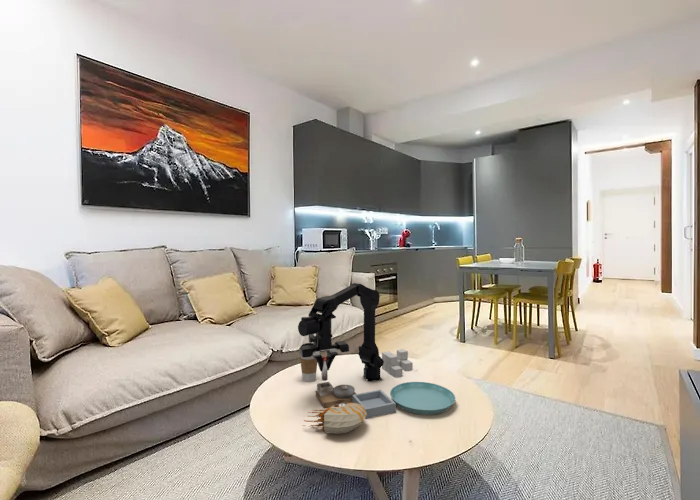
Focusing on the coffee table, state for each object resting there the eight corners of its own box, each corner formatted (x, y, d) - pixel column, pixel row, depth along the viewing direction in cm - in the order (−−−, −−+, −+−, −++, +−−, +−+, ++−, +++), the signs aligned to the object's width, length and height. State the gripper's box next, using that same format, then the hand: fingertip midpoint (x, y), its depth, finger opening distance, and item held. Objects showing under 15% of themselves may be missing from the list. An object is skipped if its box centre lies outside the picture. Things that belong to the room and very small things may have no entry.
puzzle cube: (395, 378, 159) (395, 360, 159) (381, 368, 170) (381, 352, 170) (417, 373, 164) (417, 356, 164) (403, 364, 175) (403, 348, 175)
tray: (380, 397, 140) (380, 389, 140) (395, 412, 129) (395, 403, 129) (352, 403, 136) (352, 394, 136) (365, 418, 125) (365, 409, 125)
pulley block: (348, 389, 148) (348, 377, 148) (358, 401, 138) (358, 388, 137) (315, 395, 143) (315, 383, 142) (323, 408, 132) (323, 395, 132)
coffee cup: (320, 375, 162) (320, 342, 162) (316, 383, 154) (316, 349, 153) (302, 375, 163) (301, 342, 162) (297, 382, 155) (297, 348, 154)
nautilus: (297, 441, 113) (308, 418, 128) (366, 440, 111) (368, 417, 126) (296, 415, 113) (306, 396, 128) (364, 414, 111) (367, 394, 126)
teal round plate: (466, 401, 138) (466, 392, 138) (434, 427, 120) (434, 417, 120) (412, 383, 154) (412, 376, 154) (377, 403, 136) (377, 395, 136)
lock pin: (326, 377, 142) (326, 355, 142) (329, 380, 140) (329, 358, 139) (319, 378, 141) (319, 356, 141) (321, 381, 138) (321, 359, 138)
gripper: (339, 323, 150) (339, 360, 151) (295, 328, 143) (296, 366, 144) (349, 330, 140) (349, 369, 141) (302, 335, 133) (303, 377, 134)
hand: (324, 370), depth 140 cm, fingers closed on lock pin, 2 cm apart
